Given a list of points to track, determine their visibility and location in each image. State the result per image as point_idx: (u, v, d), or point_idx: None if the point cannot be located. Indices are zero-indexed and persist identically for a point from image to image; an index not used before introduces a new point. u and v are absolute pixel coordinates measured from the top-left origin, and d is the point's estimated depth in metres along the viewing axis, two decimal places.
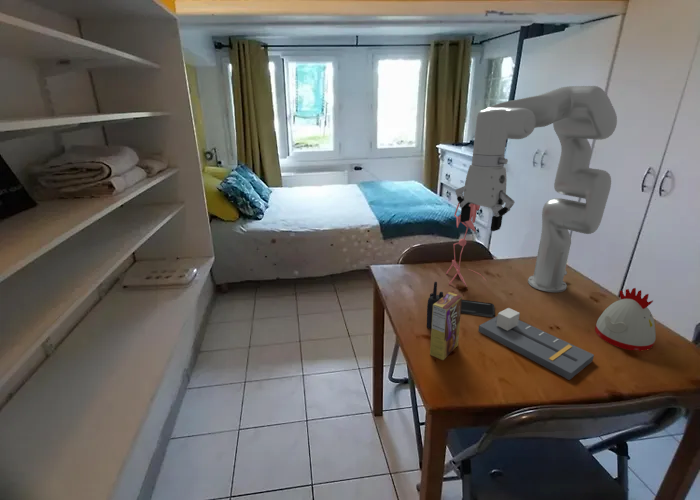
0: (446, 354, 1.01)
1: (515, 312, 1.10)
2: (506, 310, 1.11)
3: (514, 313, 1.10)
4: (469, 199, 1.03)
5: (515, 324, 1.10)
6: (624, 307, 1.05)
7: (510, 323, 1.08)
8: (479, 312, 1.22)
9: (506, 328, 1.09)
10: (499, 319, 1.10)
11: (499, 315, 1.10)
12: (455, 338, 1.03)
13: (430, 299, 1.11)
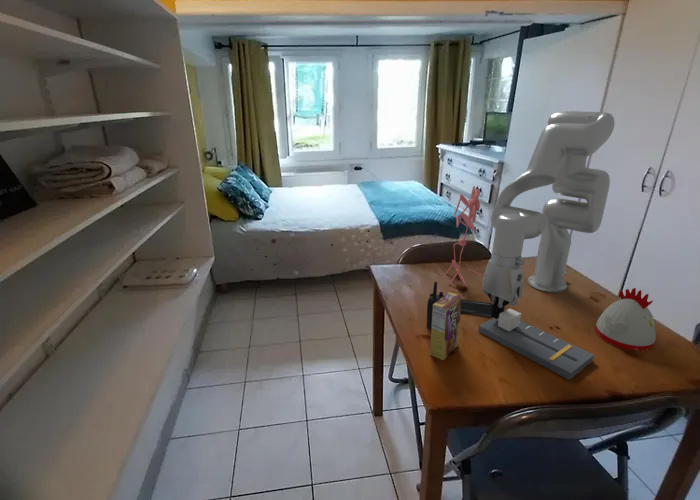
0: (446, 354, 1.01)
1: (517, 313, 1.10)
2: (507, 311, 1.11)
3: (516, 314, 1.09)
4: (487, 290, 1.12)
5: (517, 325, 1.10)
6: (624, 307, 1.05)
7: (511, 324, 1.08)
8: (479, 312, 1.22)
9: (508, 329, 1.08)
10: (500, 320, 1.10)
11: (500, 316, 1.09)
12: (455, 338, 1.03)
13: (430, 299, 1.11)
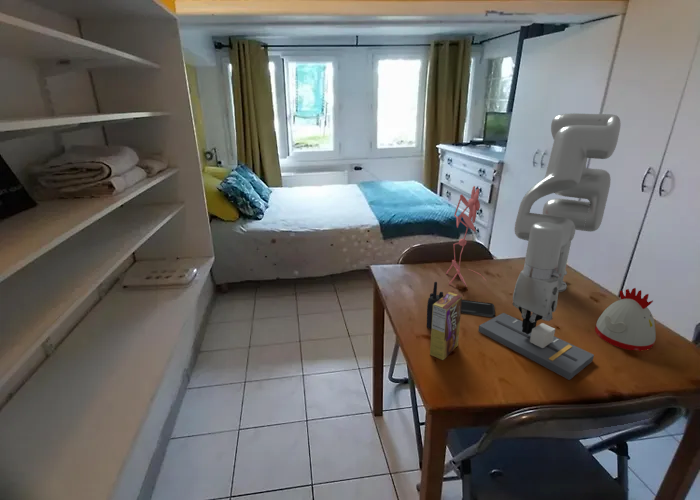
0: (446, 354, 1.01)
1: (550, 328, 1.03)
2: (540, 326, 1.04)
3: (550, 329, 1.02)
4: (518, 303, 1.04)
5: (550, 341, 1.03)
6: (624, 307, 1.05)
7: (545, 340, 1.01)
8: (479, 312, 1.22)
9: (541, 345, 1.01)
10: (533, 335, 1.02)
11: (533, 331, 1.02)
12: (455, 338, 1.04)
13: (430, 299, 1.11)
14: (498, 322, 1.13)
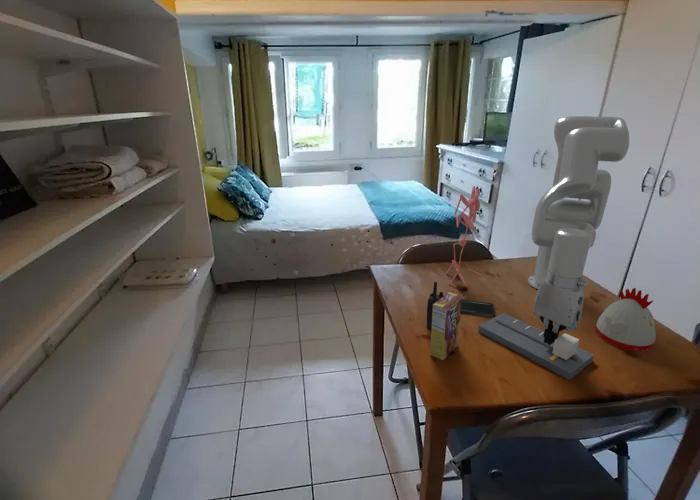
0: (446, 354, 1.01)
1: (574, 339, 0.98)
2: (563, 336, 0.99)
3: (574, 340, 0.97)
4: (540, 313, 1.00)
5: (574, 352, 0.98)
6: (624, 307, 1.05)
7: (569, 352, 0.96)
8: (479, 312, 1.22)
9: (565, 357, 0.97)
10: (556, 347, 0.98)
11: (556, 342, 0.98)
12: (455, 338, 1.04)
13: (430, 299, 1.11)
14: (498, 322, 1.13)
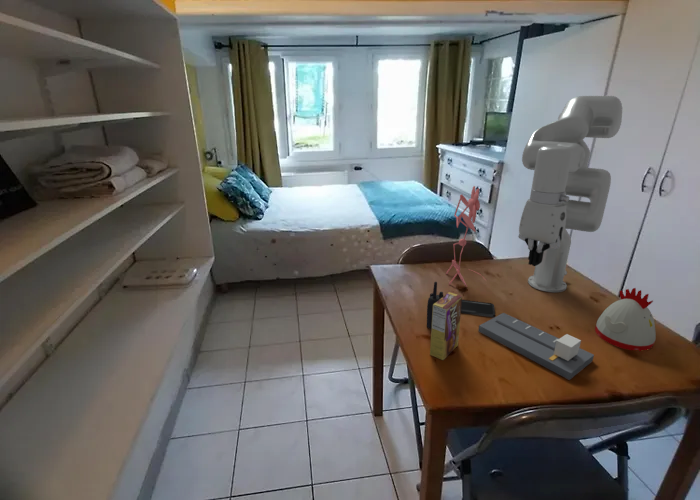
0: (446, 354, 1.01)
1: (576, 339, 0.98)
2: (565, 337, 0.99)
3: (575, 341, 0.97)
4: (525, 234, 1.02)
5: (575, 353, 0.98)
6: (624, 307, 1.05)
7: (571, 353, 0.96)
8: (479, 312, 1.22)
9: (566, 358, 0.96)
10: (558, 347, 0.98)
11: (558, 343, 0.97)
12: (455, 338, 1.03)
13: (430, 299, 1.11)
14: (498, 322, 1.13)
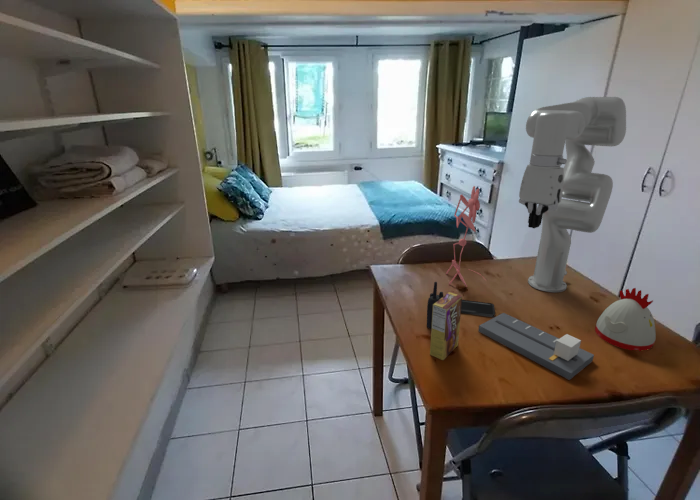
0: (446, 354, 1.01)
1: (576, 339, 0.98)
2: (565, 337, 0.99)
3: (575, 341, 0.97)
4: (525, 198, 1.08)
5: (575, 353, 0.98)
6: (624, 307, 1.05)
7: (571, 353, 0.96)
8: (479, 312, 1.22)
9: (566, 358, 0.96)
10: (558, 347, 0.98)
11: (558, 343, 0.97)
12: (455, 338, 1.04)
13: (430, 299, 1.11)
14: (498, 322, 1.13)
